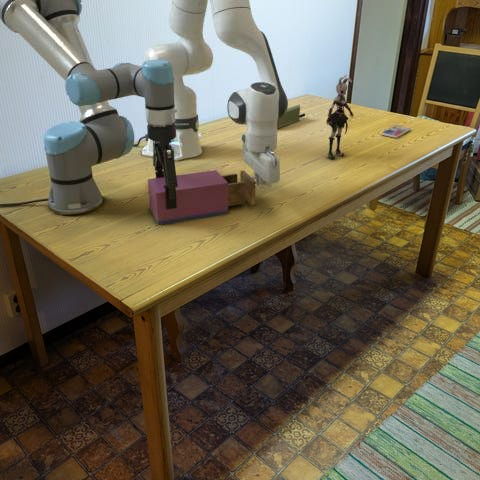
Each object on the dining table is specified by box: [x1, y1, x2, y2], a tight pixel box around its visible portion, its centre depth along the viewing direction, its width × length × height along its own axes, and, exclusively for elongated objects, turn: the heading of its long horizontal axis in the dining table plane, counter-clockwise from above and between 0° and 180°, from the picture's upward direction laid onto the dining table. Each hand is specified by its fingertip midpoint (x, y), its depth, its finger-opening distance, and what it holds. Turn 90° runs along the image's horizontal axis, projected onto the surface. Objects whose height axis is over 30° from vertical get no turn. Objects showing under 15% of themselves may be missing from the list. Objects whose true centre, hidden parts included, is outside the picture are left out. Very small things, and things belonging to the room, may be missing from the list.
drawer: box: [221, 169, 273, 207], centre depth 149 cm, size 25×9×7 cm, turn 111°
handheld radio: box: [276, 104, 306, 130], centre depth 223 cm, size 7×3×25 cm
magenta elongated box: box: [147, 169, 229, 225], centre depth 145 cm, size 21×10×10 cm, turn 111°
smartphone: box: [380, 124, 411, 139], centre depth 215 cm, size 7×1×15 cm
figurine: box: [325, 74, 354, 160], centre depth 182 cm, size 15×6×30 cm, turn 132°
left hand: (166, 200), depth 143 cm, fingers closed on magenta elongated box, 10 cm apart
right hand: (260, 186), depth 152 cm, fingers closed, pressing on drawer
